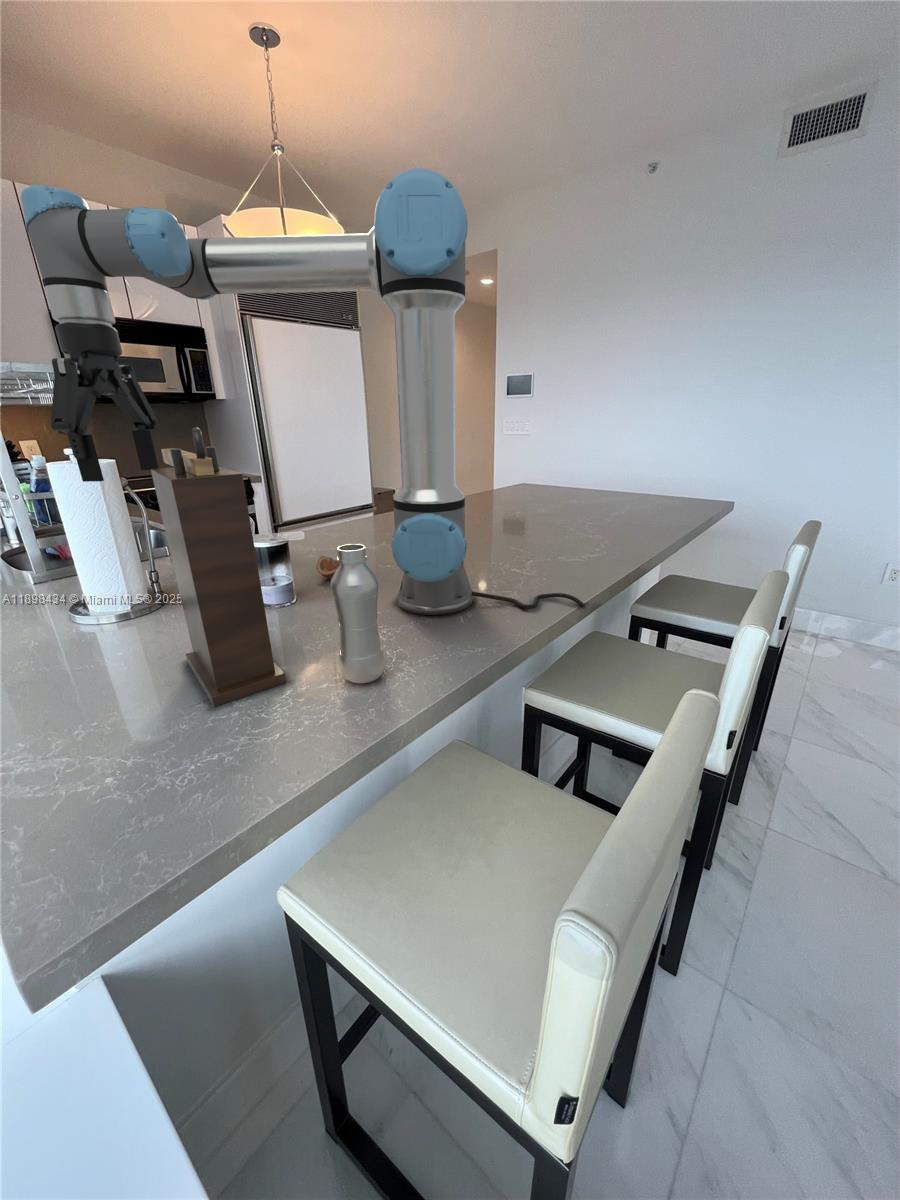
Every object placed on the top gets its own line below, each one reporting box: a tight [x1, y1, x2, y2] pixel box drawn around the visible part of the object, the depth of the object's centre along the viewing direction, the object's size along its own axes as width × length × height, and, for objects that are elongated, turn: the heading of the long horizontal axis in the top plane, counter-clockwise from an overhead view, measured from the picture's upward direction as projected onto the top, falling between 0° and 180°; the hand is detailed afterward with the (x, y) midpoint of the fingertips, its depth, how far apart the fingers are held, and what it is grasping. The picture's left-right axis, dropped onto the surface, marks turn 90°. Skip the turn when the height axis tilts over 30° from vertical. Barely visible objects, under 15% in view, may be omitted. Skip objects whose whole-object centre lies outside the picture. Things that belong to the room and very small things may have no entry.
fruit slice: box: [315, 555, 340, 580], centre depth 114 cm, size 8×7×5 cm
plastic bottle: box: [329, 543, 386, 684], centre depth 69 cm, size 6×7×20 cm
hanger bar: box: [160, 427, 214, 476], centre depth 66 cm, size 21×2×6 cm, turn 38°
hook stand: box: [150, 446, 287, 708], centre depth 69 cm, size 16×10×33 cm, turn 38°
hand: (124, 475), depth 79 cm, fingers open, 13 cm apart
